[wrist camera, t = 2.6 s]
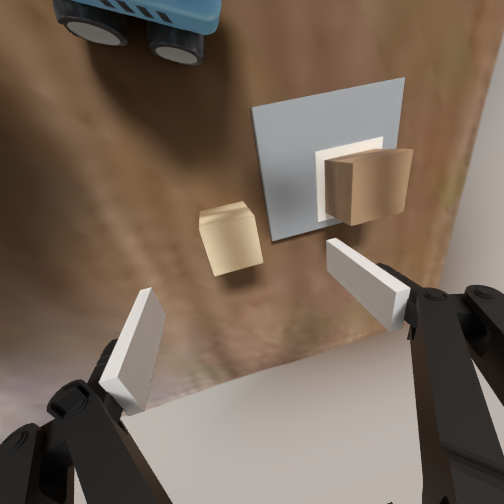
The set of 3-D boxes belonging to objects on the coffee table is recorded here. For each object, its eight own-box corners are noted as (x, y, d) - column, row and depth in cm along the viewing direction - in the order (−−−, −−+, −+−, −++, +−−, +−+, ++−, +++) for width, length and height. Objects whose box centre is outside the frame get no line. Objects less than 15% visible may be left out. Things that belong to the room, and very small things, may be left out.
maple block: (211, 250, 26) (214, 276, 21) (199, 211, 24) (199, 229, 19) (251, 239, 27) (263, 262, 21) (242, 200, 24) (254, 215, 19)
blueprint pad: (270, 238, 27) (273, 241, 26) (250, 108, 20) (252, 107, 20) (383, 208, 29) (389, 210, 28) (398, 79, 22) (406, 76, 21)
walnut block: (325, 212, 26) (350, 226, 22) (324, 160, 23) (353, 163, 19) (369, 201, 27) (403, 211, 22) (374, 148, 24) (413, 149, 19)
